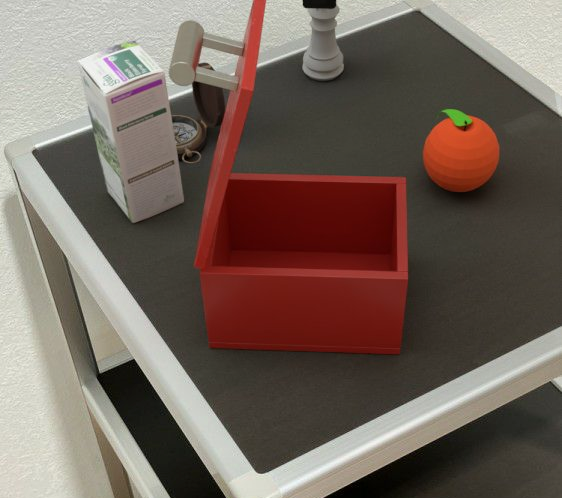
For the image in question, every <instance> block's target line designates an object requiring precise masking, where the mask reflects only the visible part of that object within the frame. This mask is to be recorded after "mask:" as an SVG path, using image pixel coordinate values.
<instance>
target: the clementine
mask: <svg viewBox="0 0 562 498" xmlns="http://www.w3.org/2000/svg"><path fill="white" fill-rule="evenodd" d="M442 113H444V114H446V115H447V116H448V117H446V118H445V119H443V120H442V121H440V122H439V123H438V124H436V125H435V126H433V128H432V130H431V131H430V132H429V134H428V136H427V137H426V138H425V142H424V146H423V149H422V161H423V166H424V169H425V171H426V173H427V175H428V176H429V178H430V179H431V180H432V182H434V183H435V184H436V185H437V186H438V187H440V188H441V189H444V190H446V191H449V192H453V193H466V192H471V191H473V190H476V189H477V188H479V187H481V186H483V185H484V184H485V183H486V182H488V181H489V180H490V178H491V177H492V176H493V174H494V173H495V172H496V170H497V166H498V163H499V161H500V159H499V158H500V145H499V141H498V139H497V135H496V133H495V132H494V129H492V128H491V127H490V125H489V124H488V123H486V121H484V120H482V119H480V118H478V117H475V116H473V115H467V114H465V113H464V112H463V111H461V110H457V109H453V108H445V109H443V110H441V111H439V112H438V114H437V117H436V119H439V116H440V115H441V114H442Z"/></svg>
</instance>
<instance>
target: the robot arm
mask: <svg viewBox="0 0 562 498" xmlns="http://www.w3.org/2000/svg"><path fill="white" fill-rule="evenodd" d="M336 4H337V0H302V7H303V8H304V9H308V8H315V9H334V8H335V7H336Z"/></svg>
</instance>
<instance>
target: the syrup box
mask: <svg viewBox="0 0 562 498" xmlns="http://www.w3.org/2000/svg"><path fill="white" fill-rule="evenodd" d="M77 66H78V70H79V74H80V79H81V85H82V88H83V92H84V96H85V97H84V98H85V101H86V105H87V109H88V110H87V111H88V115H89V118H90V123H91V127H92V131H93V136H94V141H95V144H96V145H95V146H96V150H97V153H98V158H99V163H100V165H101V170H102V174H103V179H104V183H105V187H106V192H107V193H108V195H109V196H110V197H111V198H112V200H113V201H114V202H115V204H116V205H117V206H118V207H119V208H120V210H121V211H122V212H123V213H124V215H125V216H126V218H127V219H128V220H129V221H130V223H132V224H136V223H138V222H141V221H144V220H147V219H149V218H152V217H154V216H157V215H158V214H161V213H163V212H165V211H167V210H170V209H172V208H175V207H177V206H179V205H181V204H183V203H185V196H184V191H183V184H182V183H183V182H182V176H181V169H180V163H179V159H178V155H177V149H176V143H175V136H174V130H173V124H172V117H171V116H172V112H171V105H170V98H169V93H168V86H167V80H166V73H165V71H164V69H162V68H161V67H160V65H159V64H158V63H157V62H156V61H155V60H154V59H153V58H152V57H151V56H150V55H149V54H148V53H147V51H146V50H144V49H143V48H142V46H141V45H140V44H139V43H138V42H137V41H136V40H130V41H126V42H122V43H119V44H115V45H112V46H109V47H107V48H104V49H102V50H99V51H97V52H95V53H92V54H90V55H88V56H86V57H84V58H81V59H78V60H77Z"/></svg>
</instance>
